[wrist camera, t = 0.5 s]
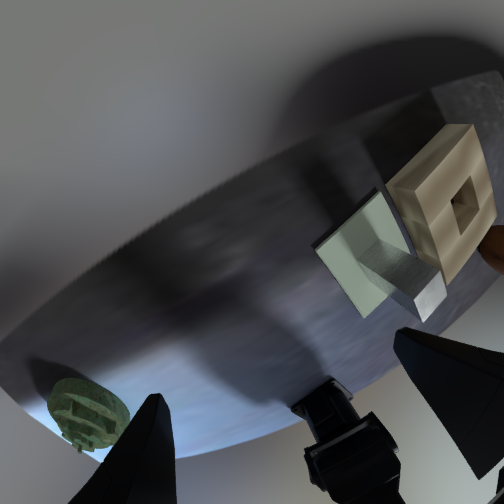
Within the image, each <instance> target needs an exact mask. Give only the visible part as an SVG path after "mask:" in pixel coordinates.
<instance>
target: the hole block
mask: <svg viewBox="0 0 504 504" xmlns="http://www.w3.org/2000/svg"><path fill="white" fill-rule="evenodd" d="M385 186H386V188H387V190H388V192H389V194H390V196H391V197H392V199H393V201H394V204H395V206H396V208H397V210H398V212H399V214H400V216H401V218H402V220H403V222H404V225H405V227H406V229H407V231H408V234H409V236H410V238H411V241H412V243H413V245H414V248H415V250H416V253H417V255H418V258H419V259H420V260H422V261H424V262H426V263H428V264H429V265H431V266H433V267H435V268H437V269H439V270H440V271H441V275H442V278H443V282H444V284H446V285H448V284H449V283H450V282H451V280H452V279H453V278H454V277H455V275H456V274H457V273H458V272H459V270H460V269H461V268H462V267H463V265H464V264H465V263H466V261H467V260H468V259H469V257H470V256H471V254H472V253H473V252H474V250H475V249H476V247H477V246H478V245H479V243H480V242H481V240H482V239H483V237H484V236H485V234H486V233H487V231H488V230H489V228H490V227H491V225H492V223H493V222H494V220H495V219H496V217H497V211H496V206H495V200H494V195H493V191H492V186H491V182H490V178H489V174H488V170H487V166H486V163H485V159H484V156H483V152H482V149H481V146H480V143H479V140H478V137H477V134H476V131H475V129H474V126H473V125H472V124H446V125H445V126H444V127H443V128H442V129H441V130H440V131H439V132H438V133H437V134H436V135H435V136H434V137H433V138H432V139H431V140H430V141H429V142H428V143H427V144H426V145H425V146H424V147H423V148H422V149H421V150H420V151H419V152H418V153H417V154H416V155H415V156H414V157H413V158H412V159H411V160H410V161H409V162H408V163H407V164H406V165H405V166H404V167H403V168H402V169H401V170H400V171H399V172H398V173H397V174H396V175H395V176H394V177H393V178H392V179H391V180H390V181H389V182H388V183H387V184H385ZM452 198H453V200H454V203H453V205H451V202H450V200H451V199H452Z"/></svg>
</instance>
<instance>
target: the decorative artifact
mask: <svg viewBox="0 0 504 504" xmlns="http://www.w3.org/2000/svg"><path fill="white" fill-rule="evenodd" d="M47 407H48V411H49V413H50V415H51V416H52V418H53V419H54V420H55V422H56V423H57V424H58V427H59V428H60V430H61V431H62V432H63V433H62V437H64V438H65V439H66V440H68V441H70V442H71V443H72V446H73V447H75V448H76V449H78V453H80V454H81V453H82V450H85V451H90V452H94V449H95V448H97V449H103V448H107V447H109V446H111V445H114V444H115V443H116V441H117V440H118V439H119V437H120V436H121V434H122V433H123V431H124V430H125V428H126V427H127V426H128V424H129V423H130V413H129V411H128V409H127V407H126V405H125V404H124V403H123V402H122V401H121V400H120V399H119V398H118V397H117V396H116V395H115V394H113V393H112V392H110V391H109V390H107V389H105V388H104V387H102V386H100V385H98V384H95V383H93V382H90V381H87V380H83V379H78V378H65V379H61V380H59V381H58V382H56V384H55V385H54V387H53V389H52V392H51V394H50V396H49V399H48V402H47Z"/></svg>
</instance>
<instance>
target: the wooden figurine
mask: <svg viewBox="0 0 504 504" xmlns="http://www.w3.org/2000/svg"><path fill="white" fill-rule="evenodd" d="M480 253H481V256H482V258H483V259H484V260H485V261H486V263H488V264H489V265H490V266H491V267H492V268H494V269H495V270H496V271H497V272H499V273H501V274H503V275H504V225H495V226H491V227H490V228H489V230H488V231H487V233H486V234H485V236H484V237H483V239H482V240H481V242H480Z"/></svg>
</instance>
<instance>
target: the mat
mask: <svg viewBox="0 0 504 504" xmlns="http://www.w3.org/2000/svg"><path fill="white" fill-rule="evenodd" d="M378 239H381V240H383V241H385V242H387V243H389V244H391V245H393V246H395V247H397V248H399V249H401V250H403V251H405V252H407V253H409V254H410V252H409V249H408V247H407V245H406V242H405V240H404V238H403V236H402V234H401V231H400V229H399V227H398V225H397V223H396V221H395V219H394V217H393V215H392V213H391V211H390V209H389V207H388V205H387V203H386V201H385V199H384V197H383V195H382V193H381V192H379V191H378V192H377V193H376V194H375V195H374V196H373V197H372V198H371V199H370V200H369V201H367V202H366V203H365V204H364V205H363V206H362V207H361V208H360V209H359V210H358V211H357V212H356V213H355V214H353V215H352V216H351V217H350V218H349V219H348V220H347V221H346V222H345V223H344V224H343V225H341V226H340V227H339V228H338V229H337V230H336V231H335V232H334V233H333V234H331V235H330V236H329V237H328V238H327V239H326V240H325V241H324V242H323V243H321V244H320V245H319V246H318V247H317V248H316V249H315V252H316V253H317V254H318V256H319V257H320V258H321V260H322V261H323V262H324V264H325V265H326V266H327V268H328V269H329V271H330V272H331V273H332V275H333V276H334V277H335V279H336V280H337V282H338V283H339V284H340V286H341V287H342V289H343V290H344V291H345V293H346V294H347V296H348V297H349V299H350V300H351V301H352V303H353V304H354V306H355V307H356V309H357V310H358V311H359V313H360V314H361V316H362V317H363V318H365V317H366V316H367V315H369V314H370V313H371V312H372V311H373V310H374V309H375V308H376V307H377V306H378V305H379V304H380V303H381V302H382V301H383V300H384V299H385V298H386V297H387V296H388V295H387V294H385V293H384V292H383V291H382V290H380V289H379V288H378V287H376V286H375V285H374V284H372V283H371V282H370V281H369V280H368V278H367V277H366V275H365V273H364V272H363V270H362V269H361V267H360V265H359V264H358V262H357V259H358V258H359V257H360V256H361V255H362V254H363V253H364V252H365V251H366V250H368V249H369V248H370V247H371V246H372V245H373V244H374V243H375V242H376V241H377V240H378Z"/></svg>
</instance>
